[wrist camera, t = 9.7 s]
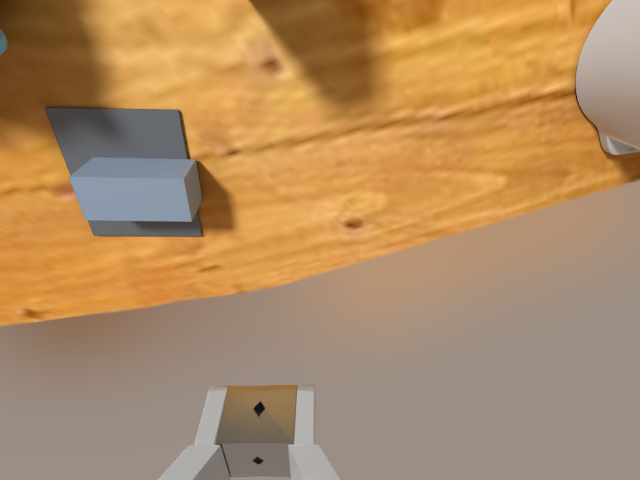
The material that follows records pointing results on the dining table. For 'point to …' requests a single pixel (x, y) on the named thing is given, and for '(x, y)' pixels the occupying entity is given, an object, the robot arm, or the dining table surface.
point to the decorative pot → (2, 42)
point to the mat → (122, 153)
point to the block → (138, 189)
